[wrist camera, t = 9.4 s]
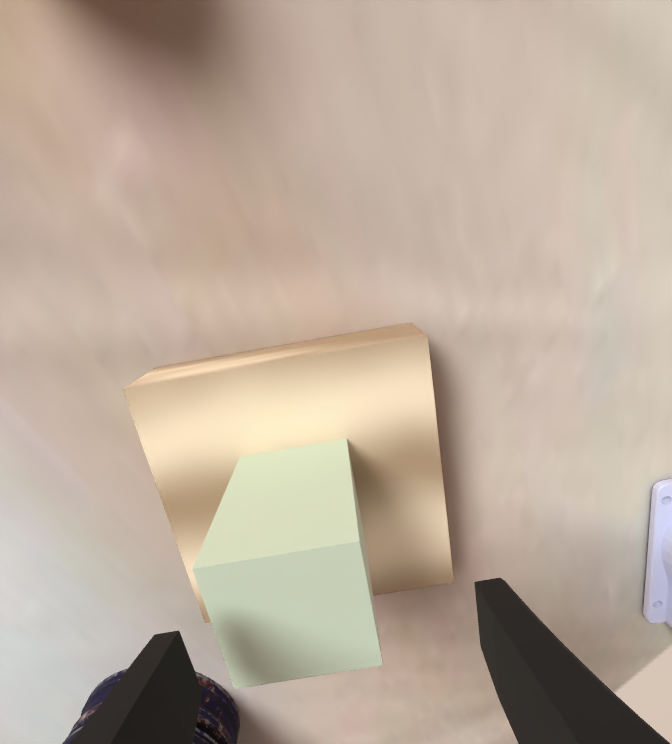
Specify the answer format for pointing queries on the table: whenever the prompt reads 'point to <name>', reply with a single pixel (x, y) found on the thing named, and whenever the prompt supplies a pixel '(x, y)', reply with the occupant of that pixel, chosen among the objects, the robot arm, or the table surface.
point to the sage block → (290, 568)
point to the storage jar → (214, 715)
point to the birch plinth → (307, 439)
